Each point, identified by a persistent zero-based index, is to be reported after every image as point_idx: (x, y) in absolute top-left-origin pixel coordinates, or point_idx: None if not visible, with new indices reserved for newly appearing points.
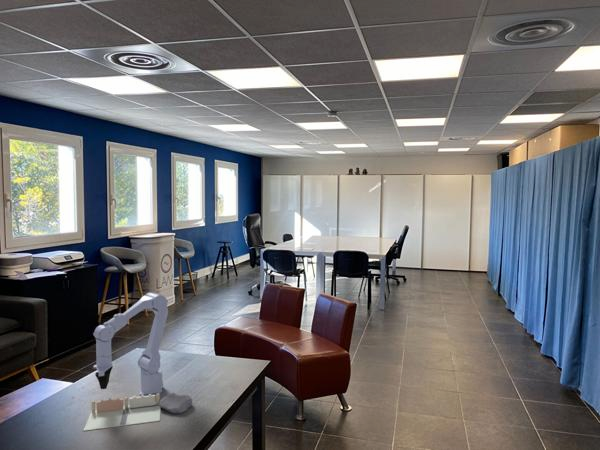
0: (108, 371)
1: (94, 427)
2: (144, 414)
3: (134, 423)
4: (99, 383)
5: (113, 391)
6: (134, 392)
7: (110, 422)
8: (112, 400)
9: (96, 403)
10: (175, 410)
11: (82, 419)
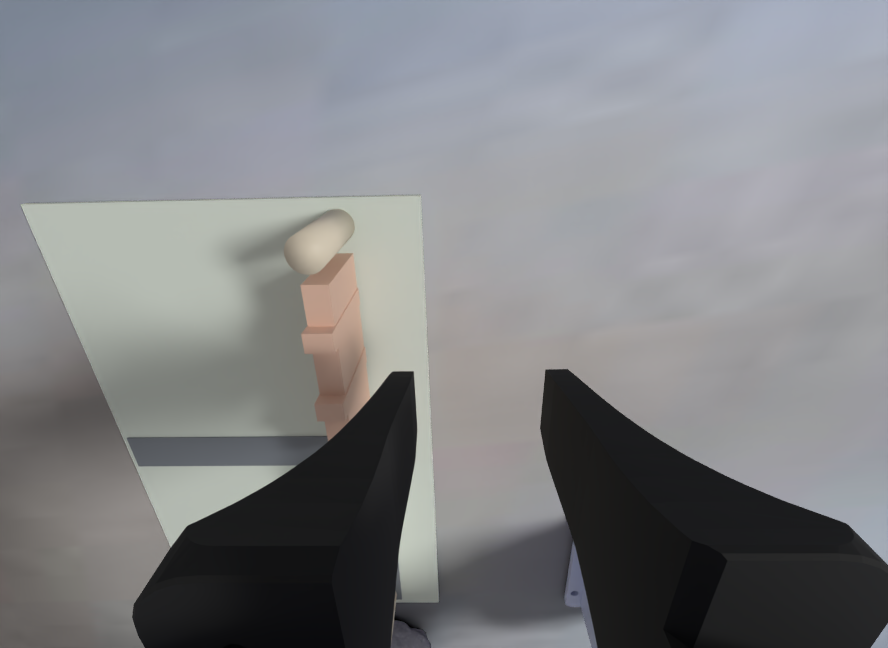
0: (610, 639)
1: (78, 283)
2: None
3: (156, 505)
4: (350, 420)
5: (769, 317)
6: None
7: (162, 379)
8: (329, 423)
9: (304, 282)
10: None
11: (236, 141)
